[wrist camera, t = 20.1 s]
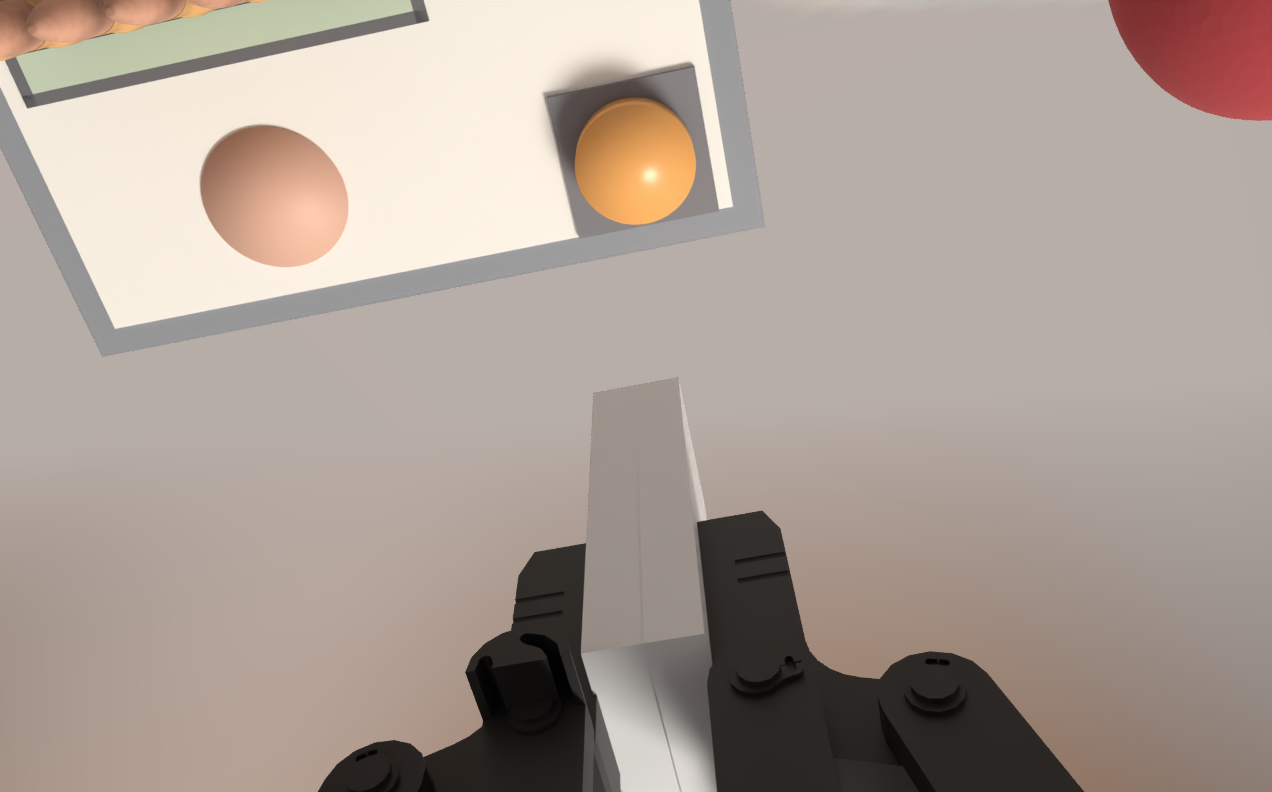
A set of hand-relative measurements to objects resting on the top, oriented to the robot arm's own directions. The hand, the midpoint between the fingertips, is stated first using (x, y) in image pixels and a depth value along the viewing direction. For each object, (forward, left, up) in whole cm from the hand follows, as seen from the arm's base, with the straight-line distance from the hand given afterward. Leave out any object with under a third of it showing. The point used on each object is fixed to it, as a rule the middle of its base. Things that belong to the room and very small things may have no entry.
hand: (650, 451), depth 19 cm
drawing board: (-4, -9, -21) cm, 23 cm away
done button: (0, 0, -20) cm, 20 cm away
